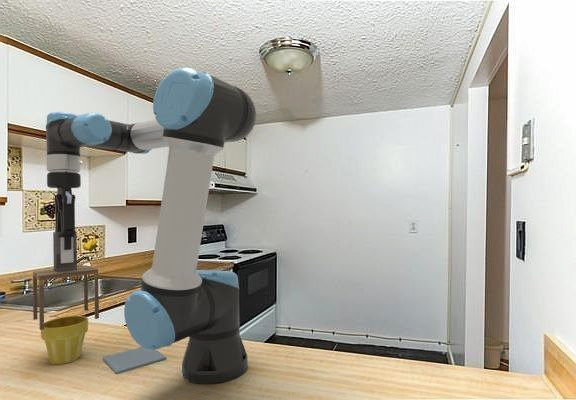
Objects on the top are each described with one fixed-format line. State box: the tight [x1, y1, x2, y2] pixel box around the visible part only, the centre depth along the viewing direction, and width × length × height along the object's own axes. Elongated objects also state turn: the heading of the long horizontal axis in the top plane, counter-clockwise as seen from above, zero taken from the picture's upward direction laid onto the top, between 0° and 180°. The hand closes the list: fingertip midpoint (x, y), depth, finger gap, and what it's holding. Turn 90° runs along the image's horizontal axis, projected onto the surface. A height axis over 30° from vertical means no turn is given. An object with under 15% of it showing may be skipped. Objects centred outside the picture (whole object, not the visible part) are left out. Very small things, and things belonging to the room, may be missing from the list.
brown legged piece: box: [32, 230, 100, 331], centre depth 94 cm, size 13×13×22 cm
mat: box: [101, 346, 168, 375], centre depth 92 cm, size 12×12×1 cm
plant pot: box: [40, 315, 89, 365], centre depth 94 cm, size 10×10×10 cm
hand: (65, 261), depth 94 cm, fingers closed on brown legged piece, 4 cm apart
